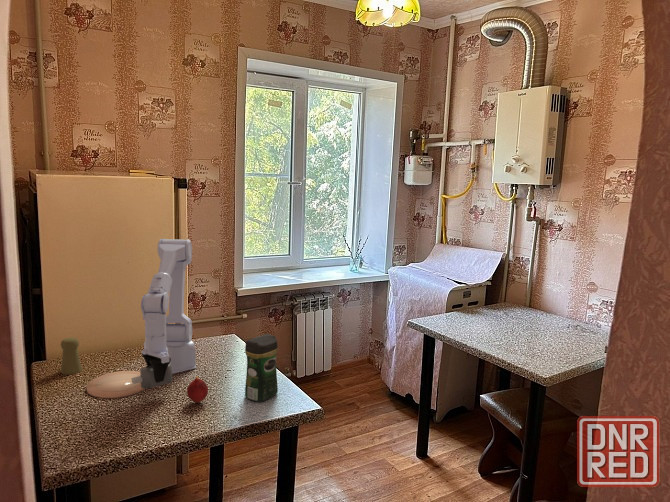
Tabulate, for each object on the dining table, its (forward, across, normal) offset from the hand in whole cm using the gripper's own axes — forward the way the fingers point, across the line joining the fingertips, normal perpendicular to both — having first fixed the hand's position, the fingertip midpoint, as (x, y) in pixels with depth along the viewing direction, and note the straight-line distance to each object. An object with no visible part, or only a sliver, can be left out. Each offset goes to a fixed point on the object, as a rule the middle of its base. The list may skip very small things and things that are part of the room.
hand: (156, 378), depth 140 cm
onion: (+6, +10, +8) cm, 14 cm away
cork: (+6, -35, -15) cm, 39 cm away
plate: (+6, -15, -6) cm, 17 cm away
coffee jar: (+6, +17, +25) cm, 31 cm away
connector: (+1, 0, -1) cm, 2 cm away
